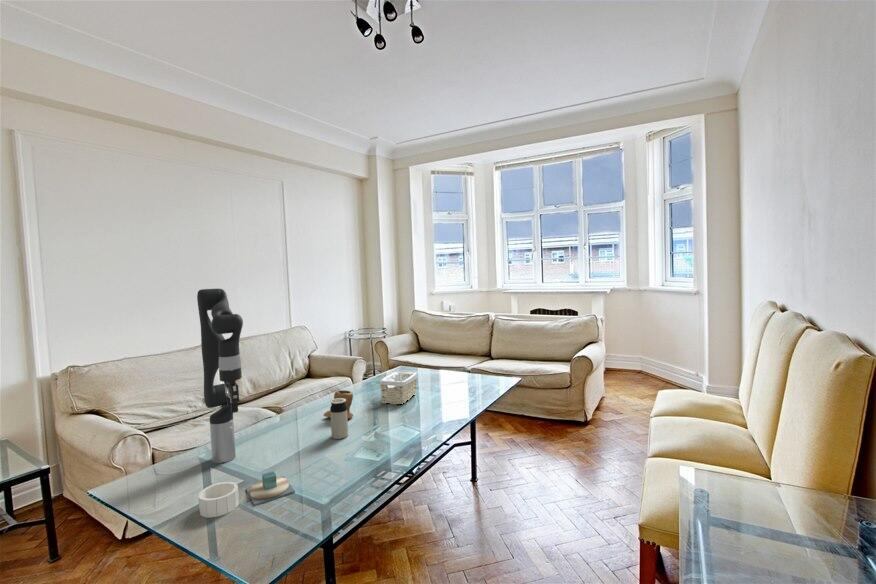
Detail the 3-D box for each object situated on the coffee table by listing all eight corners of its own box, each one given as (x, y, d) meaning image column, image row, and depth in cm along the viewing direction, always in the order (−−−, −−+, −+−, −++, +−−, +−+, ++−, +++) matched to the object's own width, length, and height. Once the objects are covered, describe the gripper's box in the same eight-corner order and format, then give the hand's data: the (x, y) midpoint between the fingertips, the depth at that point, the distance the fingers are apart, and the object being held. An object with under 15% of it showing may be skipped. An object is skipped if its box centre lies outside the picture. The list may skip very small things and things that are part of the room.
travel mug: (344, 440, 203) (342, 403, 202) (328, 439, 204) (327, 402, 203) (350, 433, 211) (349, 398, 210) (335, 432, 212) (334, 397, 211)
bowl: (197, 505, 149) (196, 489, 149) (234, 494, 156) (233, 478, 156) (202, 521, 139) (201, 504, 139) (241, 508, 146) (240, 491, 146)
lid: (246, 488, 159) (245, 473, 159) (283, 476, 167) (282, 462, 167) (254, 503, 148) (253, 487, 148) (293, 490, 156) (293, 475, 156)
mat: (246, 489, 159) (245, 488, 159) (283, 477, 167) (283, 476, 167) (254, 505, 148) (254, 504, 148) (294, 492, 156) (294, 490, 156)
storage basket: (396, 392, 277) (395, 370, 276) (418, 394, 272) (418, 371, 271) (379, 404, 255) (378, 380, 254) (404, 406, 249) (403, 381, 249)
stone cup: (358, 415, 236) (357, 389, 235) (344, 423, 225) (342, 395, 224) (337, 412, 243) (336, 386, 242) (323, 419, 233) (321, 392, 232)
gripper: (216, 365, 163) (218, 406, 164) (222, 372, 152) (225, 416, 152) (237, 362, 167) (239, 402, 168) (244, 368, 156) (247, 411, 157)
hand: (232, 409), depth 160 cm, fingers open, 8 cm apart
